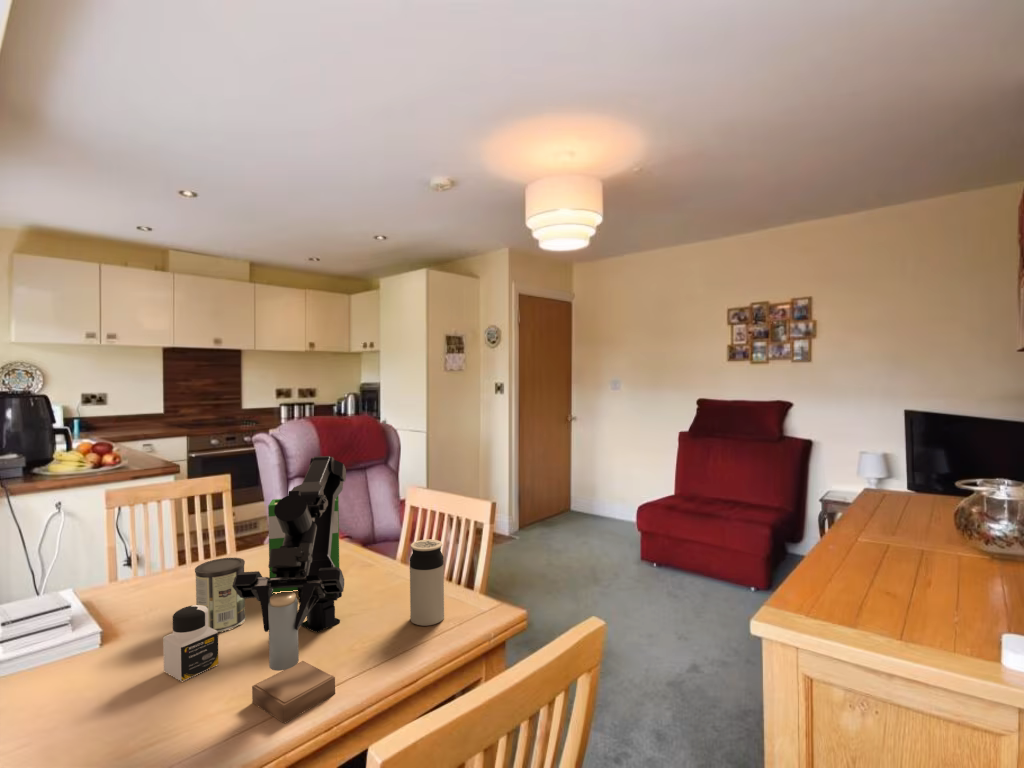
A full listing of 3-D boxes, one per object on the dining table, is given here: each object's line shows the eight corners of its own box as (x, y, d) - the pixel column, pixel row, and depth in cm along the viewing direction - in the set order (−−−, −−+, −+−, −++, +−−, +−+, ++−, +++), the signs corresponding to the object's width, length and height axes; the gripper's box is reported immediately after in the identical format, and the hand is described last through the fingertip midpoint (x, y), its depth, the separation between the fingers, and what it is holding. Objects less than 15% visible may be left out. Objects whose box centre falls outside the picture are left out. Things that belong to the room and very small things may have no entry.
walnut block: (252, 702, 93) (252, 685, 93) (303, 676, 101) (302, 659, 101) (284, 723, 87) (283, 704, 87) (335, 693, 95) (335, 676, 95)
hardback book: (339, 576, 152) (338, 494, 152) (338, 586, 145) (337, 500, 145) (273, 584, 147) (272, 499, 147) (269, 594, 140) (268, 505, 140)
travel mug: (437, 628, 120) (436, 550, 120) (405, 625, 122) (404, 548, 122) (448, 613, 128) (447, 539, 128) (418, 610, 130) (417, 538, 129)
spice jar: (263, 668, 92) (261, 600, 92) (282, 654, 97) (281, 589, 96) (285, 672, 90) (284, 603, 90) (304, 658, 95) (303, 592, 95)
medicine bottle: (181, 683, 99) (180, 620, 99) (163, 672, 103) (162, 611, 103) (219, 665, 105) (218, 606, 105) (200, 655, 109) (199, 598, 109)
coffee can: (226, 611, 130) (225, 554, 130) (255, 618, 126) (254, 560, 126) (185, 629, 121) (184, 568, 121) (215, 638, 117) (214, 575, 117)
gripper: (235, 529, 96) (209, 616, 85) (340, 524, 98) (328, 609, 87) (252, 557, 104) (230, 640, 93) (348, 552, 106) (338, 632, 95)
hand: (281, 630), depth 92 cm, fingers closed on spice jar, 5 cm apart
